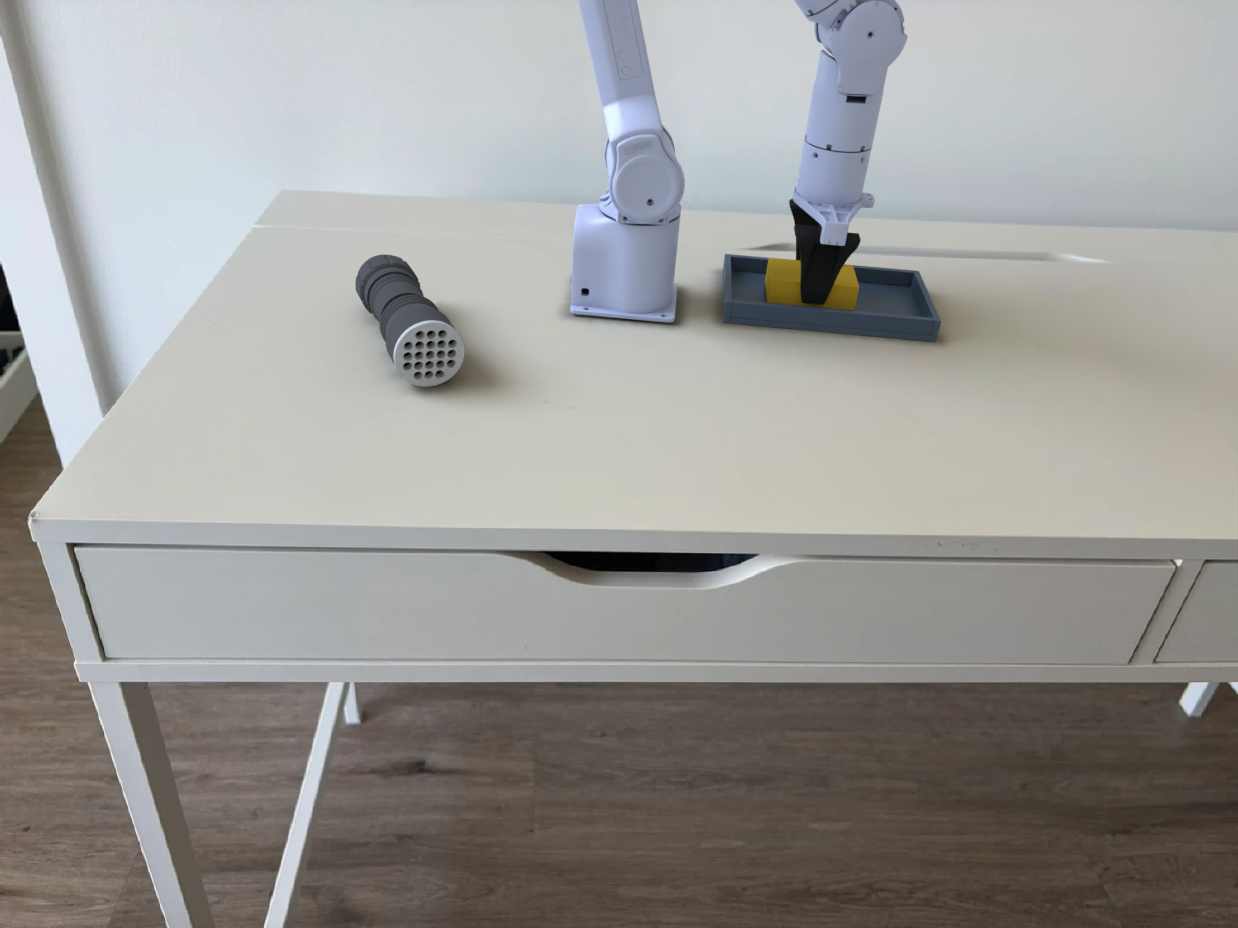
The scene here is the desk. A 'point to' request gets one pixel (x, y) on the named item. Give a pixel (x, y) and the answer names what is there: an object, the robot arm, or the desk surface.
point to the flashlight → (409, 322)
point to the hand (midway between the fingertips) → (810, 289)
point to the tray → (881, 309)
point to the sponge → (786, 286)
